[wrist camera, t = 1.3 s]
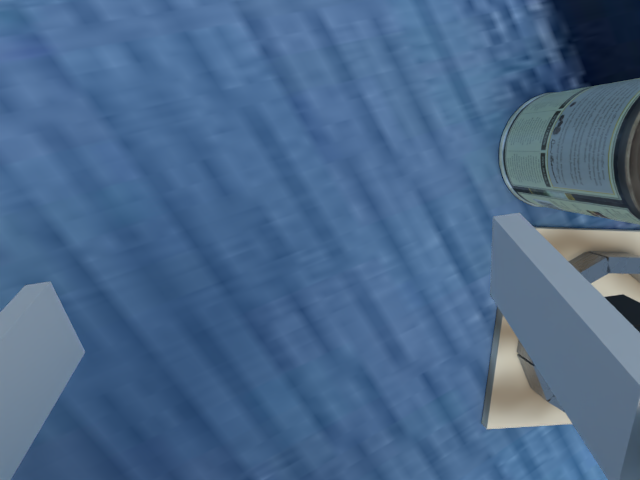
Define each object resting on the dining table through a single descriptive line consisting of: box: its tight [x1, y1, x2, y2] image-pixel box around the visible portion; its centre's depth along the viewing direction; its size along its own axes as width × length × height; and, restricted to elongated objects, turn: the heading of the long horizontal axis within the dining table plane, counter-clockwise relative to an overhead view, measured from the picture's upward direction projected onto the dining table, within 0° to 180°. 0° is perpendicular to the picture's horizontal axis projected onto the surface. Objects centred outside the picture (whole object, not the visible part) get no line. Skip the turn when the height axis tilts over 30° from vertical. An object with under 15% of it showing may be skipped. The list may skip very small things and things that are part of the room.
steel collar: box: [517, 251, 640, 412], centre depth 45 cm, size 16×16×2 cm
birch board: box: [482, 227, 640, 429], centre depth 47 cm, size 20×20×1 cm
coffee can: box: [499, 78, 640, 224], centre depth 36 cm, size 10×10×14 cm
